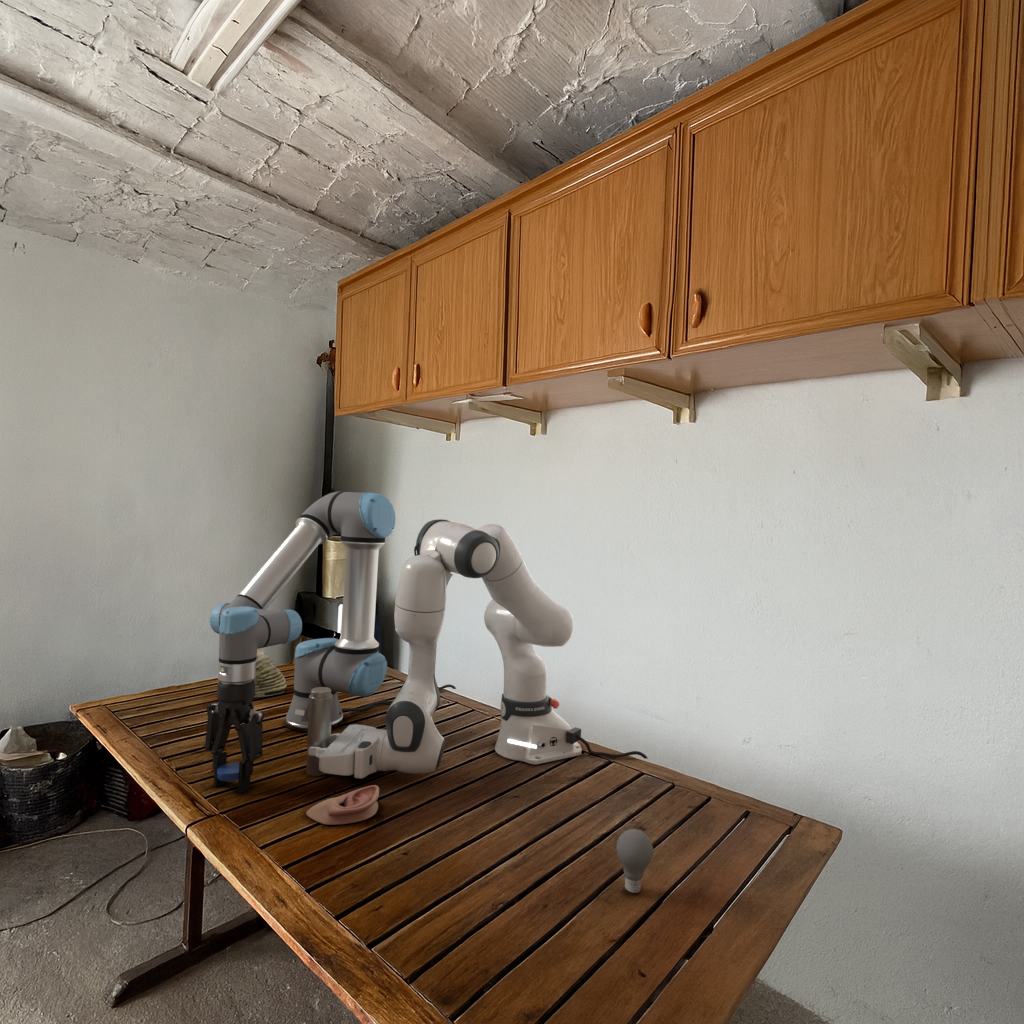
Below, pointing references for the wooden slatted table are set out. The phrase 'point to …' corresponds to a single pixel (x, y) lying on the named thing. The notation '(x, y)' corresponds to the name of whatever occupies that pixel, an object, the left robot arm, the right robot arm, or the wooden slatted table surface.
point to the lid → (228, 772)
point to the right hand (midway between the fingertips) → (315, 744)
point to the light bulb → (634, 857)
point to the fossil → (267, 676)
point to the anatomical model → (347, 807)
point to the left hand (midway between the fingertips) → (231, 787)
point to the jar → (318, 725)
